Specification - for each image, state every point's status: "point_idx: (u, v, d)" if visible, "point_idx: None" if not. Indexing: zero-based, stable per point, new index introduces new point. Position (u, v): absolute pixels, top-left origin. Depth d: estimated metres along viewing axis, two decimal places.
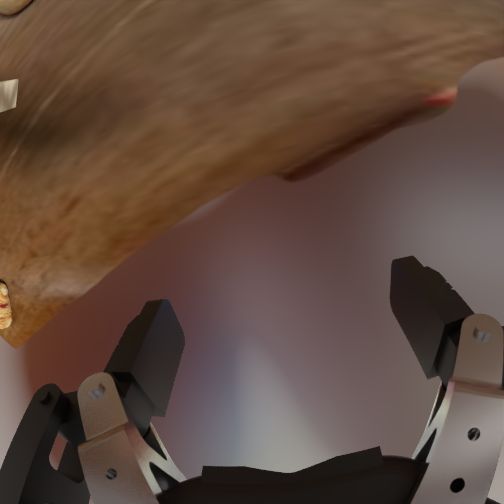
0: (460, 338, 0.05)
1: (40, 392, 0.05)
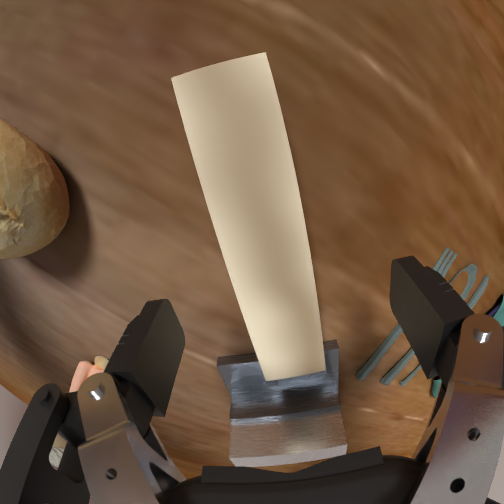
0: (460, 338, 0.05)
1: (40, 392, 0.05)
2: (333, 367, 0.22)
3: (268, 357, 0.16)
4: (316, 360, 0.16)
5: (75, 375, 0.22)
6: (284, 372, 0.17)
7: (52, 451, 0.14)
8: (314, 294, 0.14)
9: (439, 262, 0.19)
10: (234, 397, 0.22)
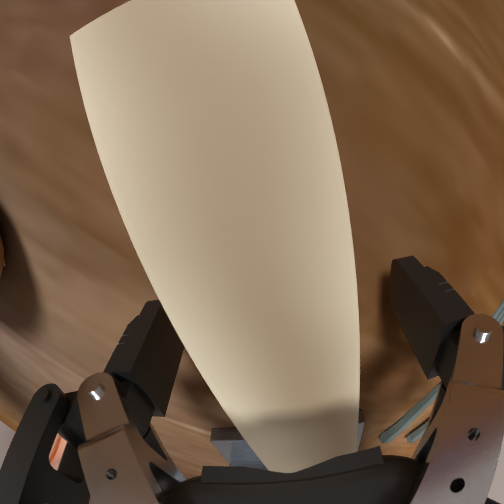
0: (460, 338, 0.05)
1: (40, 392, 0.05)
2: None
3: (279, 465, 0.10)
4: None
5: None
6: None
7: None
8: (355, 412, 0.08)
9: (496, 315, 0.12)
10: None
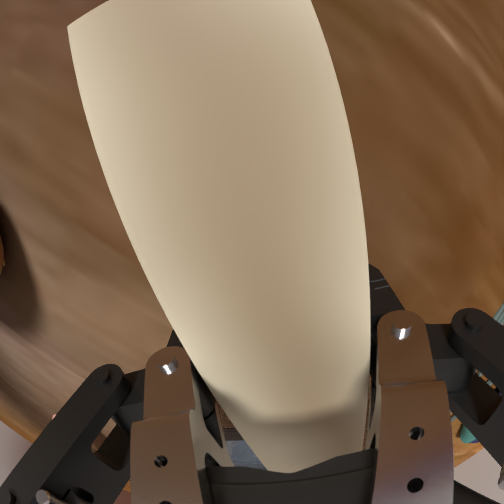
0: (378, 340, 0.06)
1: (99, 372, 0.06)
2: None
3: (283, 471, 0.09)
4: None
5: None
6: None
7: None
8: (362, 418, 0.07)
9: (498, 314, 0.12)
10: None
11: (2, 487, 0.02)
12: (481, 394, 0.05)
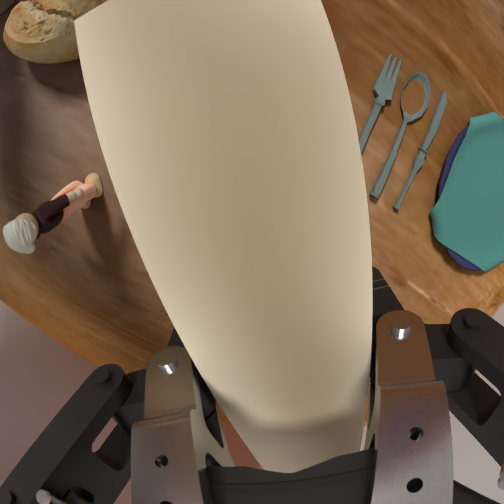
0: (377, 340, 0.06)
1: (100, 372, 0.06)
2: None
3: (280, 471, 0.09)
4: None
5: (63, 188, 0.24)
6: None
7: (13, 220, 0.15)
8: (361, 419, 0.07)
9: (387, 64, 0.20)
10: None
11: (2, 487, 0.02)
12: (480, 394, 0.05)
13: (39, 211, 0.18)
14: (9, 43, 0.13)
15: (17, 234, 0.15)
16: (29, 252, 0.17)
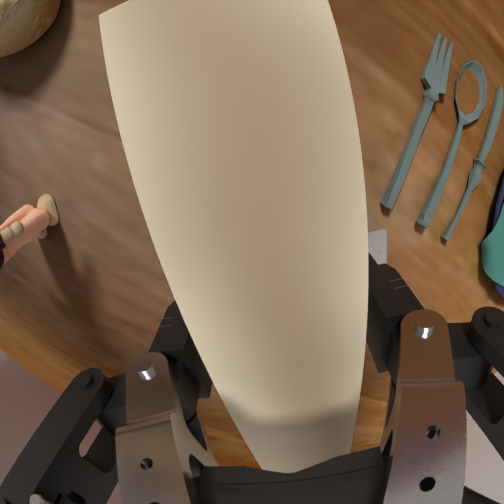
0: (401, 337, 0.05)
1: (81, 376, 0.06)
2: None
3: (273, 464, 0.10)
4: None
5: (11, 215, 0.16)
6: None
7: None
8: (354, 412, 0.08)
9: (436, 46, 0.12)
10: None
11: None
12: (496, 394, 0.04)
13: None
14: None
15: None
16: None
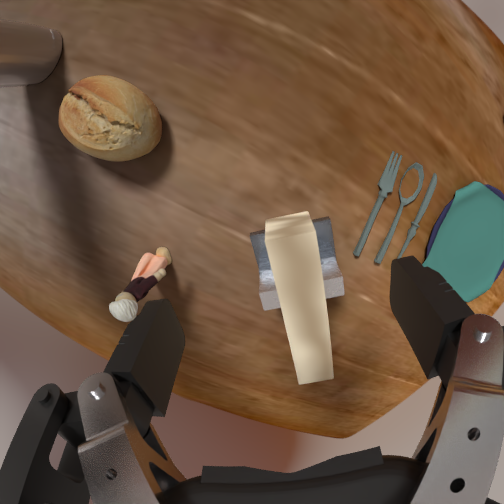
0: (460, 338, 0.05)
1: (40, 392, 0.05)
2: (329, 237, 0.34)
3: (301, 371, 0.28)
4: (328, 372, 0.28)
5: (140, 261, 0.35)
6: (310, 379, 0.29)
7: (120, 301, 0.27)
8: (329, 340, 0.26)
9: (390, 161, 0.30)
10: (261, 262, 0.35)
11: None
12: None
13: (135, 289, 0.30)
14: (72, 140, 0.25)
15: (126, 311, 0.27)
16: None
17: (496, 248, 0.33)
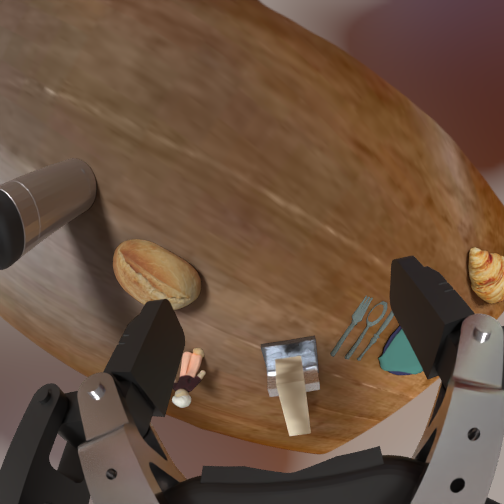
0: (460, 338, 0.05)
1: (40, 392, 0.05)
2: (314, 348, 0.50)
3: (291, 430, 0.44)
4: (307, 430, 0.44)
5: (183, 359, 0.50)
6: (296, 433, 0.44)
7: (181, 398, 0.42)
8: (308, 418, 0.41)
9: (362, 302, 0.46)
10: (268, 363, 0.50)
11: None
12: None
13: (187, 386, 0.44)
14: None
15: (185, 403, 0.42)
16: None
17: None
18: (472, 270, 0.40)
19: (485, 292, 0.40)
